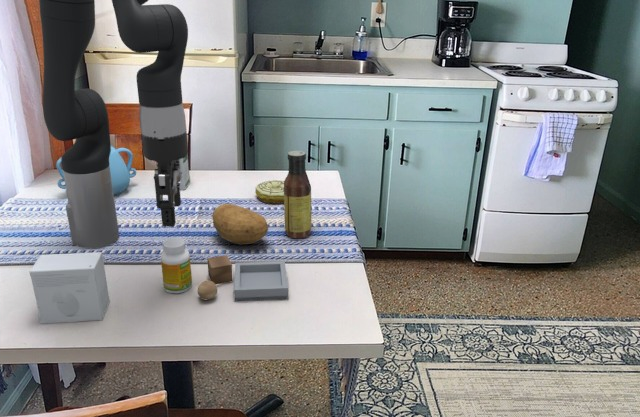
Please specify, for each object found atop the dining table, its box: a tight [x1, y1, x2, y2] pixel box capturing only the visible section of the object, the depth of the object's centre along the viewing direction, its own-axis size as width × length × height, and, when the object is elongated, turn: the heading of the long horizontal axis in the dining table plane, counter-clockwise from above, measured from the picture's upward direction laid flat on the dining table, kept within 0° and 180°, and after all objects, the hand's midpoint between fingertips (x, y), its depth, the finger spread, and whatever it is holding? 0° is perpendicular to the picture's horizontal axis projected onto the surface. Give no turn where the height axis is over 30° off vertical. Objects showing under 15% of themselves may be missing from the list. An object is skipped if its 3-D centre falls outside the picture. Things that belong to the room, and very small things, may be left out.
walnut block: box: [207, 254, 233, 285], centre depth 108 cm, size 4×4×4 cm
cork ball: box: [197, 279, 218, 301], centre depth 102 cm, size 4×4×4 cm
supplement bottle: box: [160, 237, 193, 294], centre depth 104 cm, size 5×5×10 cm
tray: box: [233, 260, 289, 302], centre depth 106 cm, size 10×10×2 cm
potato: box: [211, 203, 269, 245], centre depth 122 cm, size 10×14×8 cm
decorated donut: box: [254, 179, 285, 204], centre depth 147 cm, size 10×11×4 cm
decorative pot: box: [55, 145, 137, 196], centre depth 144 cm, size 16×16×14 cm
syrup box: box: [178, 153, 191, 191], centre depth 149 cm, size 6×6×14 cm
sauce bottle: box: [283, 150, 312, 240], centre depth 124 cm, size 6×6×20 cm
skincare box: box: [29, 251, 111, 325], centre depth 95 cm, size 10×6×10 cm, turn 98°
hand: (172, 215), depth 100 cm, fingers open, 8 cm apart
